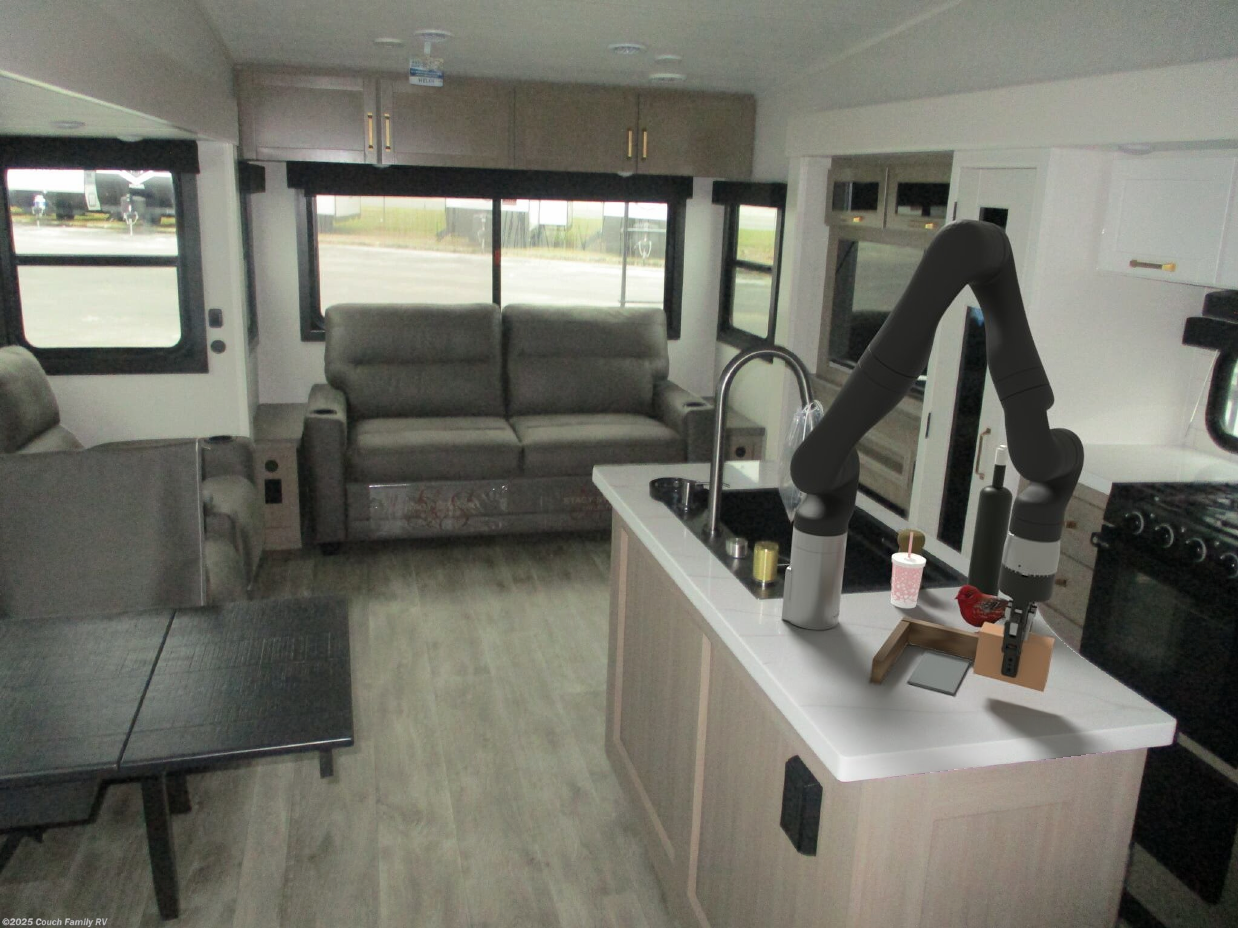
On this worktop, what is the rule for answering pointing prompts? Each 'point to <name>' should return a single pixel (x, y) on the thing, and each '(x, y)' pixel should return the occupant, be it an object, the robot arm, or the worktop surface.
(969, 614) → the decorative bird figurine
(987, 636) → the terracotta block
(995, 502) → the wine bottle
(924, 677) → the slate pad
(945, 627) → the walnut corner
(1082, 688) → the worktop surface
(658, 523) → the worktop surface
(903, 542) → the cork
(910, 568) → the beverage cup
